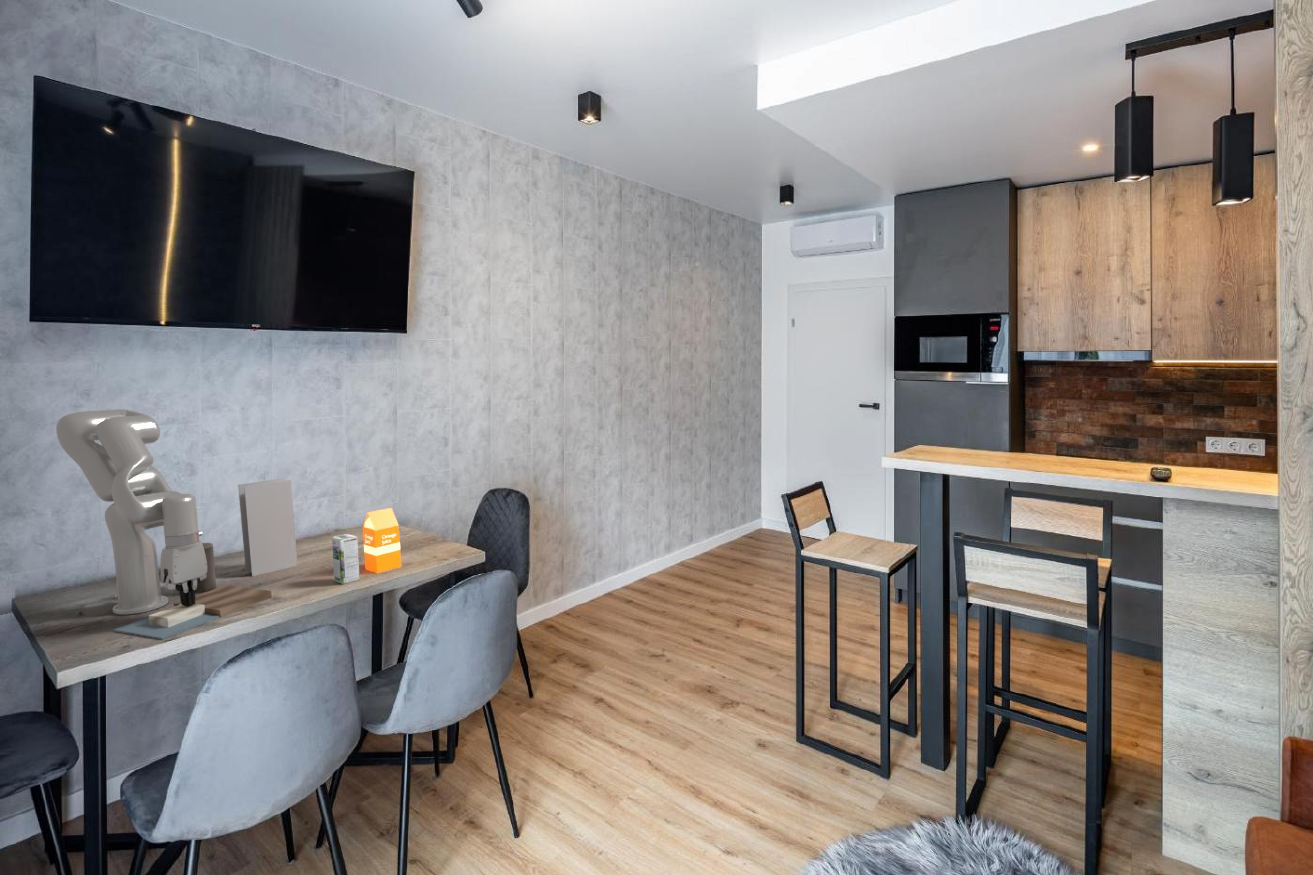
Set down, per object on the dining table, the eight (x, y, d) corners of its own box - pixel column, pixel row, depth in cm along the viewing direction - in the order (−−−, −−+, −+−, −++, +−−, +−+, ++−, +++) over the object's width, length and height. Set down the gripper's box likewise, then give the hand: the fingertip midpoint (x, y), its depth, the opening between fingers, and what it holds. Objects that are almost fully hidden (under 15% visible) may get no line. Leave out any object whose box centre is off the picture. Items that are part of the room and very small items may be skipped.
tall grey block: (291, 562, 230) (284, 478, 227) (297, 565, 226) (291, 480, 223) (245, 573, 219) (238, 484, 216) (252, 576, 216) (244, 486, 212)
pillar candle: (197, 595, 198) (193, 547, 196) (170, 593, 200) (166, 545, 198) (224, 585, 207) (220, 538, 206) (198, 583, 209) (194, 537, 208)
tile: (149, 624, 175) (148, 615, 174) (187, 610, 184) (186, 602, 184) (168, 627, 172) (167, 618, 172) (205, 613, 182) (204, 604, 181)
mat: (114, 631, 171) (113, 629, 171) (172, 610, 186) (172, 609, 186) (162, 639, 166) (162, 637, 166) (218, 617, 180) (218, 616, 180)
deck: (174, 610, 186) (173, 603, 186) (227, 591, 201) (226, 585, 201) (220, 617, 180) (219, 610, 180) (271, 597, 195) (271, 590, 195)
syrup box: (333, 581, 209) (330, 536, 208) (351, 576, 214) (348, 532, 212) (342, 584, 206) (339, 539, 204) (360, 579, 210) (357, 535, 209)
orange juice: (365, 569, 221) (361, 511, 219) (389, 562, 228) (386, 506, 226) (377, 573, 217) (373, 514, 214) (401, 566, 223) (398, 509, 221)
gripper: (199, 532, 187) (205, 594, 189) (143, 545, 173) (150, 613, 175) (218, 533, 185) (224, 596, 187) (163, 548, 171) (170, 616, 173)
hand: (188, 604), depth 181 cm, fingers closed
